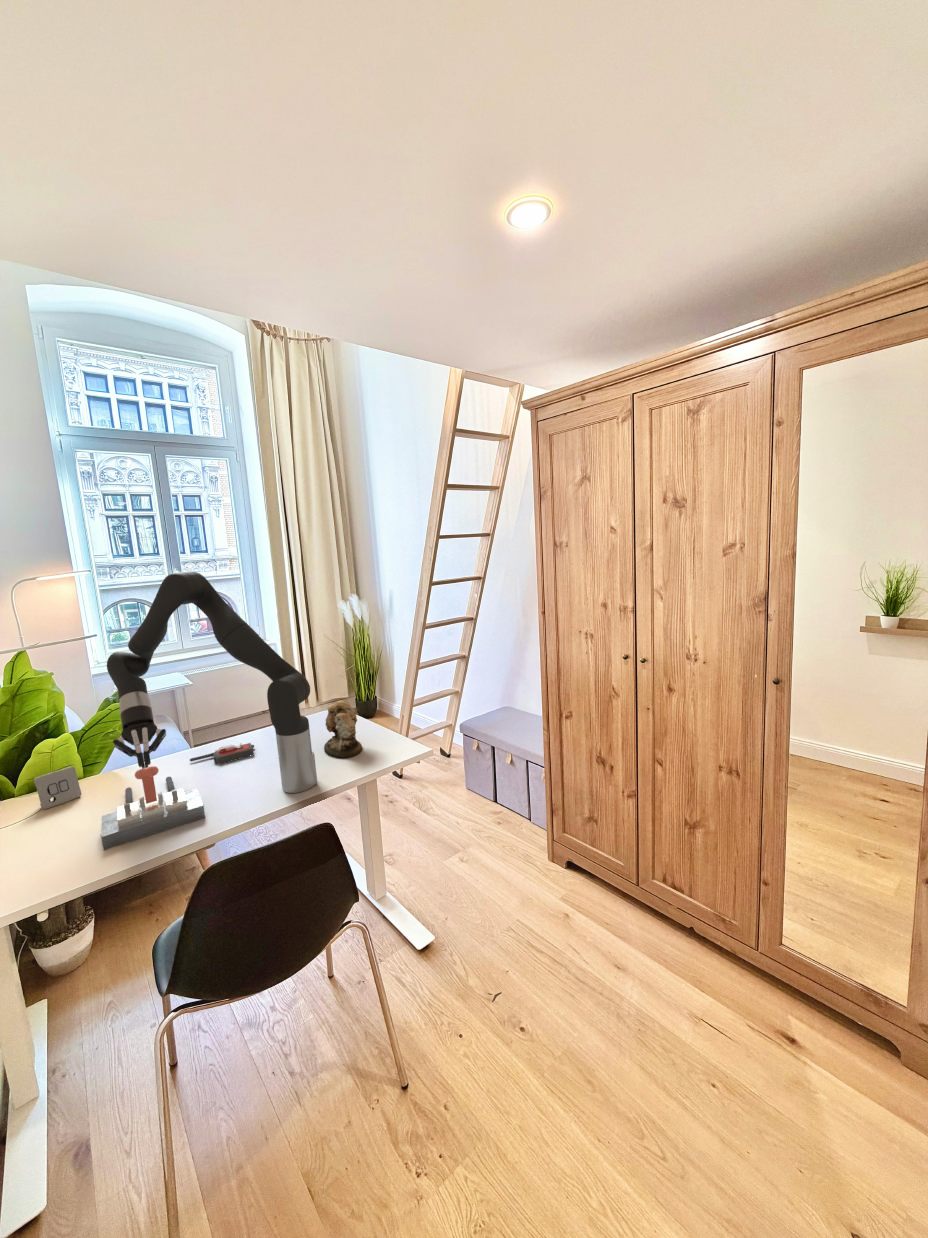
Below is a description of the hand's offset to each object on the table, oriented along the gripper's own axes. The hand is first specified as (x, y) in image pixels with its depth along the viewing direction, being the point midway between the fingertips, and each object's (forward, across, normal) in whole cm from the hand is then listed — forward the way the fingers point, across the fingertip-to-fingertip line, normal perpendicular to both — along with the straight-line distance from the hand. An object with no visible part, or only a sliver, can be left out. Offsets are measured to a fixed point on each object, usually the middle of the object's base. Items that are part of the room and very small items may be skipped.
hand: (145, 766), depth 135 cm
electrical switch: (-9, -22, +28) cm, 36 cm away
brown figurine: (+6, +56, +12) cm, 58 cm away
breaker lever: (+10, 0, -1) cm, 10 cm away
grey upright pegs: (+3, 0, +15) cm, 16 cm away
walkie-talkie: (-8, +22, +27) cm, 36 cm away
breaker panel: (+14, 0, +4) cm, 15 cm away
